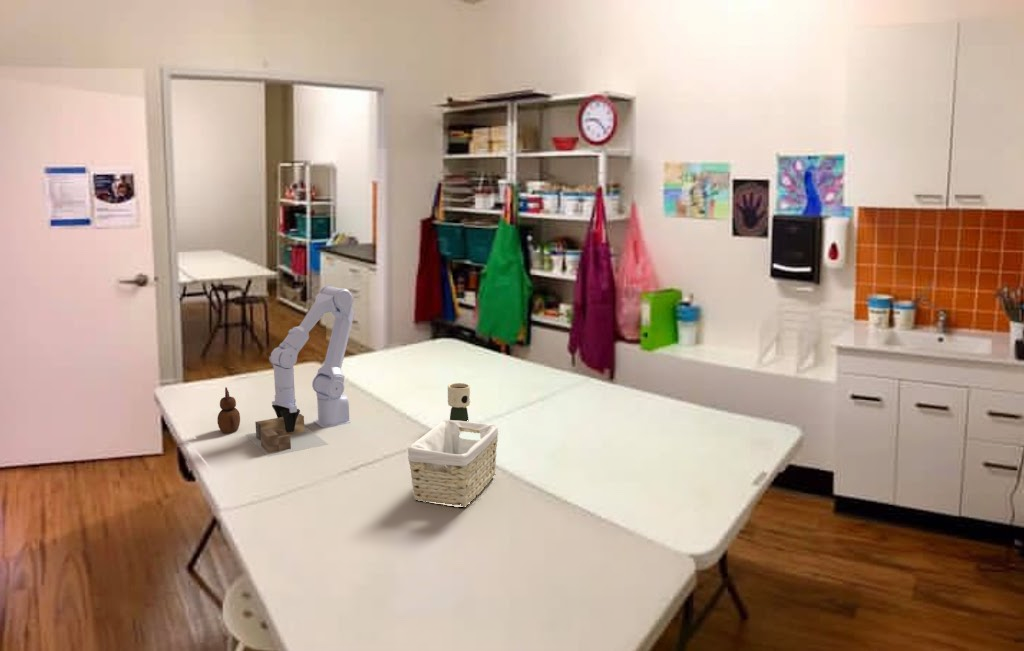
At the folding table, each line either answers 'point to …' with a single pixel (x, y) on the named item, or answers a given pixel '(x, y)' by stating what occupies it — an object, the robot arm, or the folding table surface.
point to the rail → (279, 425)
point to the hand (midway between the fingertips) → (286, 429)
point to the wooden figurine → (228, 414)
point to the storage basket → (453, 462)
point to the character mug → (459, 401)
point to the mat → (294, 442)
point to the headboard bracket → (274, 440)
